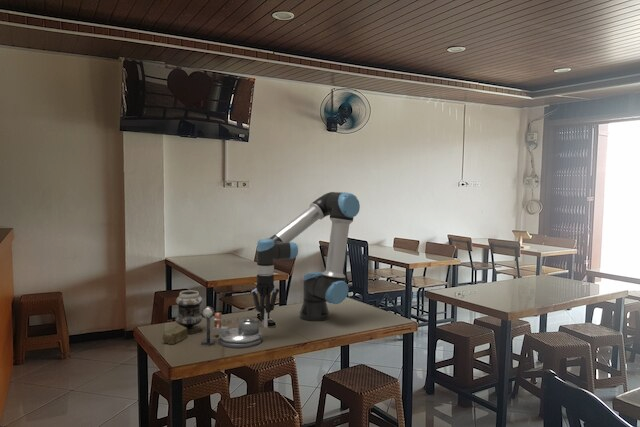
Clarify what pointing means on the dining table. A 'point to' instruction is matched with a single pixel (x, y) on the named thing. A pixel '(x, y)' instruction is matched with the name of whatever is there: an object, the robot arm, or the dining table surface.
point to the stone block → (175, 335)
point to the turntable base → (239, 345)
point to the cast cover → (248, 326)
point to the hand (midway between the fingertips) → (264, 326)
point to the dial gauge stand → (208, 325)
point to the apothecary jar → (189, 310)
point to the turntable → (232, 333)
